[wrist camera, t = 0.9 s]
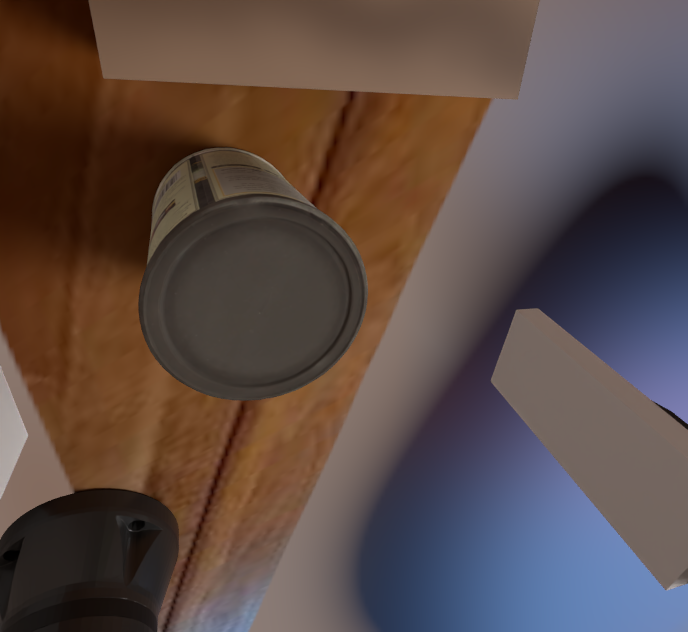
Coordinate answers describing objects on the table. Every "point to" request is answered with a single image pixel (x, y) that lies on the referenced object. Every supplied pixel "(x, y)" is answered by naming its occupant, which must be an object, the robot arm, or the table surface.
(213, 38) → the stool
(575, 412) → the robot arm
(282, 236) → the coffee can
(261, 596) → the table surface
